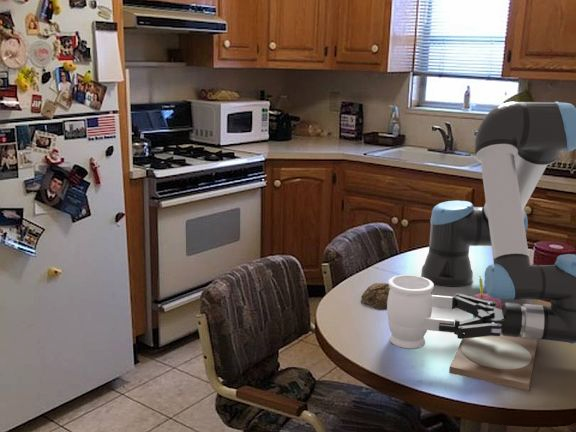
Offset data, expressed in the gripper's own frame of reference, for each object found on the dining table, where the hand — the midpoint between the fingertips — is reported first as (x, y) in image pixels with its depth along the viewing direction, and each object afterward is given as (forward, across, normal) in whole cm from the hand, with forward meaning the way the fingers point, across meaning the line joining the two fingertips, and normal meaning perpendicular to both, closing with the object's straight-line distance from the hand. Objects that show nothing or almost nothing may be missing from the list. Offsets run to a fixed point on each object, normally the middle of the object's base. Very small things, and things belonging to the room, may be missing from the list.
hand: (423, 311), depth 143 cm
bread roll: (+11, +24, -9) cm, 28 cm away
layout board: (-16, -3, -8) cm, 19 cm away
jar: (+3, +1, -9) cm, 9 cm away
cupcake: (-15, +17, -9) cm, 25 cm away
